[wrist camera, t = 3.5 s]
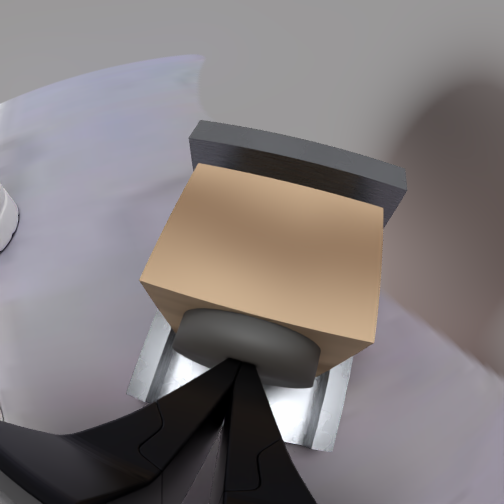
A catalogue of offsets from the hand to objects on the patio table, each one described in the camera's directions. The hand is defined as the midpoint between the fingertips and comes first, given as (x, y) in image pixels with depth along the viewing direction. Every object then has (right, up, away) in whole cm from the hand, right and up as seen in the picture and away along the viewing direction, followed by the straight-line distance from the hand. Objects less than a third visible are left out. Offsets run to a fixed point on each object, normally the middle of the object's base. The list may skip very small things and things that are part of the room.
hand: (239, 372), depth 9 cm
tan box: (+1, 0, +7) cm, 7 cm away
